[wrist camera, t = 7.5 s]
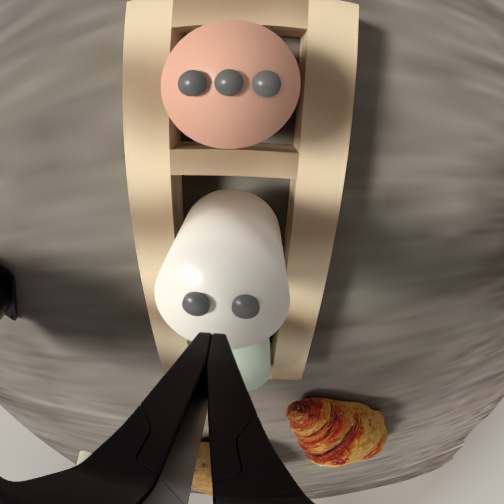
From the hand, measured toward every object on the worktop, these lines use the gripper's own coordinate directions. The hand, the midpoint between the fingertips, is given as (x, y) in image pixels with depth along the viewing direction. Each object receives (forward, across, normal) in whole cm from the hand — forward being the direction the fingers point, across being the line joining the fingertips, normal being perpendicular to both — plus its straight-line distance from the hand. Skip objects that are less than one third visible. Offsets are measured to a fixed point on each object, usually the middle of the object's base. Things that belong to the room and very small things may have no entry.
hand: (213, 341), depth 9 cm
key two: (+7, 0, 0) cm, 7 cm away
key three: (+10, 0, -8) cm, 12 cm away
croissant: (+10, -13, +25) cm, 30 cm away
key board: (+10, 0, 0) cm, 10 cm away
